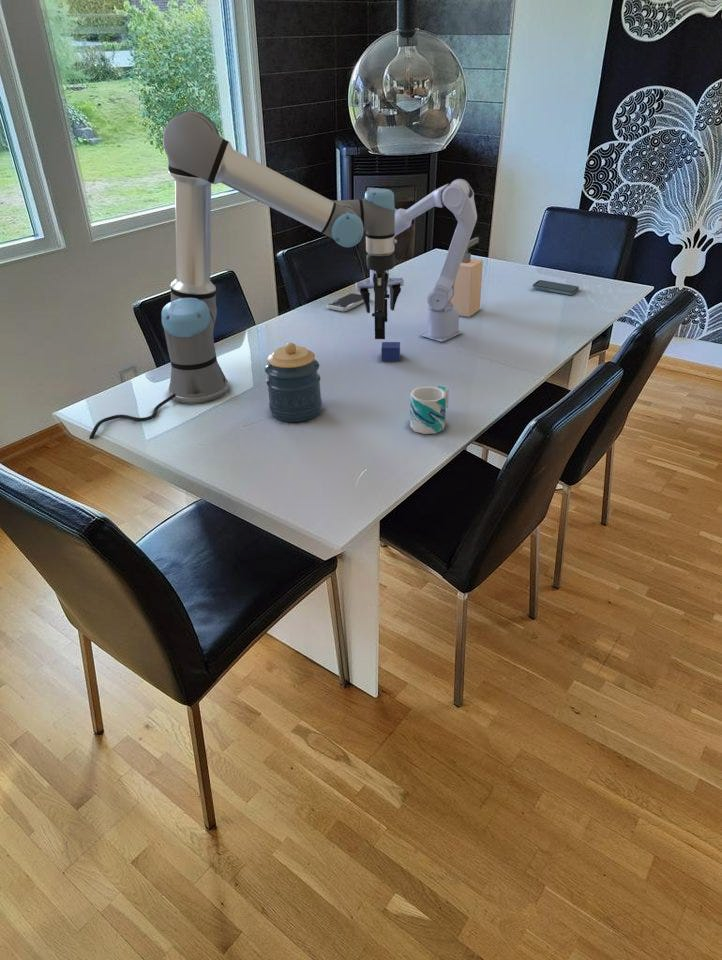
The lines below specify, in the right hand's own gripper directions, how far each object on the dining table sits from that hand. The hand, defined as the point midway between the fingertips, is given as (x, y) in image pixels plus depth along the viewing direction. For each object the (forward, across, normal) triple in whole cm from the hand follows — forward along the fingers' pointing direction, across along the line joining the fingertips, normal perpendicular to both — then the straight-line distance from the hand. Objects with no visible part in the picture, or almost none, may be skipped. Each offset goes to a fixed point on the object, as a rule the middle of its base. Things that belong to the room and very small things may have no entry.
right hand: (380, 310), depth 207 cm
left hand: (-2, -5, -20) cm, 21 cm away
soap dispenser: (+7, +32, +11) cm, 34 cm away
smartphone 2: (+7, +69, +21) cm, 73 cm away
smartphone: (+7, -5, +29) cm, 30 cm away
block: (+7, -2, -22) cm, 23 cm away
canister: (+7, -33, -48) cm, 59 cm away
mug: (+7, -3, -63) cm, 63 cm away
